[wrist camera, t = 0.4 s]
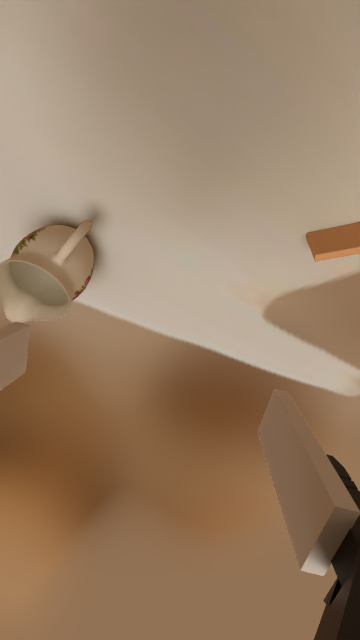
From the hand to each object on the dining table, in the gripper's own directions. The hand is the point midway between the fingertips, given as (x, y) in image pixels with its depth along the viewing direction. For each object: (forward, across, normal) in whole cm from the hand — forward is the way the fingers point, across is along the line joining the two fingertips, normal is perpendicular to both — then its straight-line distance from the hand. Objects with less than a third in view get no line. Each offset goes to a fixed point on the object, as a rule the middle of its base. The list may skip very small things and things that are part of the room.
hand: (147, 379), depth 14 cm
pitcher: (+34, -20, +2) cm, 40 cm away
